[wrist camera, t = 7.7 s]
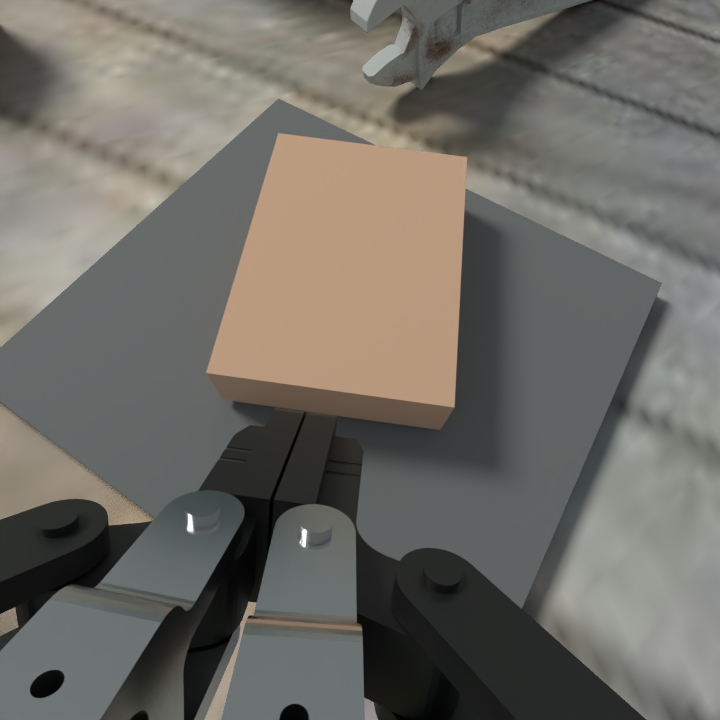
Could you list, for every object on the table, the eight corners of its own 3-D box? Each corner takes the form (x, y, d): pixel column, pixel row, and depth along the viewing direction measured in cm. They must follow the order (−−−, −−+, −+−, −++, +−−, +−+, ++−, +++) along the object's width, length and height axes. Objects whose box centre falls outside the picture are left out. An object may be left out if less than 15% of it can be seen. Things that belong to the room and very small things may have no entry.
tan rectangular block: (454, 407, 19) (467, 157, 25) (206, 372, 19) (278, 133, 25) (438, 432, 22) (452, 204, 28) (224, 402, 22) (285, 182, 28)
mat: (-19, 385, 23) (-33, 377, 22) (280, 112, 32) (278, 98, 31) (455, 741, 18) (461, 749, 17) (650, 293, 27) (661, 283, 26)
